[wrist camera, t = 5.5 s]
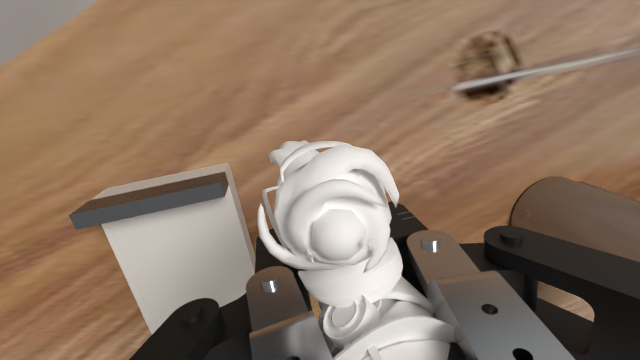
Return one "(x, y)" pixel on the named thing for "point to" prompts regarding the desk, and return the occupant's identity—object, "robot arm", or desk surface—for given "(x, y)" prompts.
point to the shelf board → (183, 249)
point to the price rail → (150, 200)
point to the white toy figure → (349, 253)
